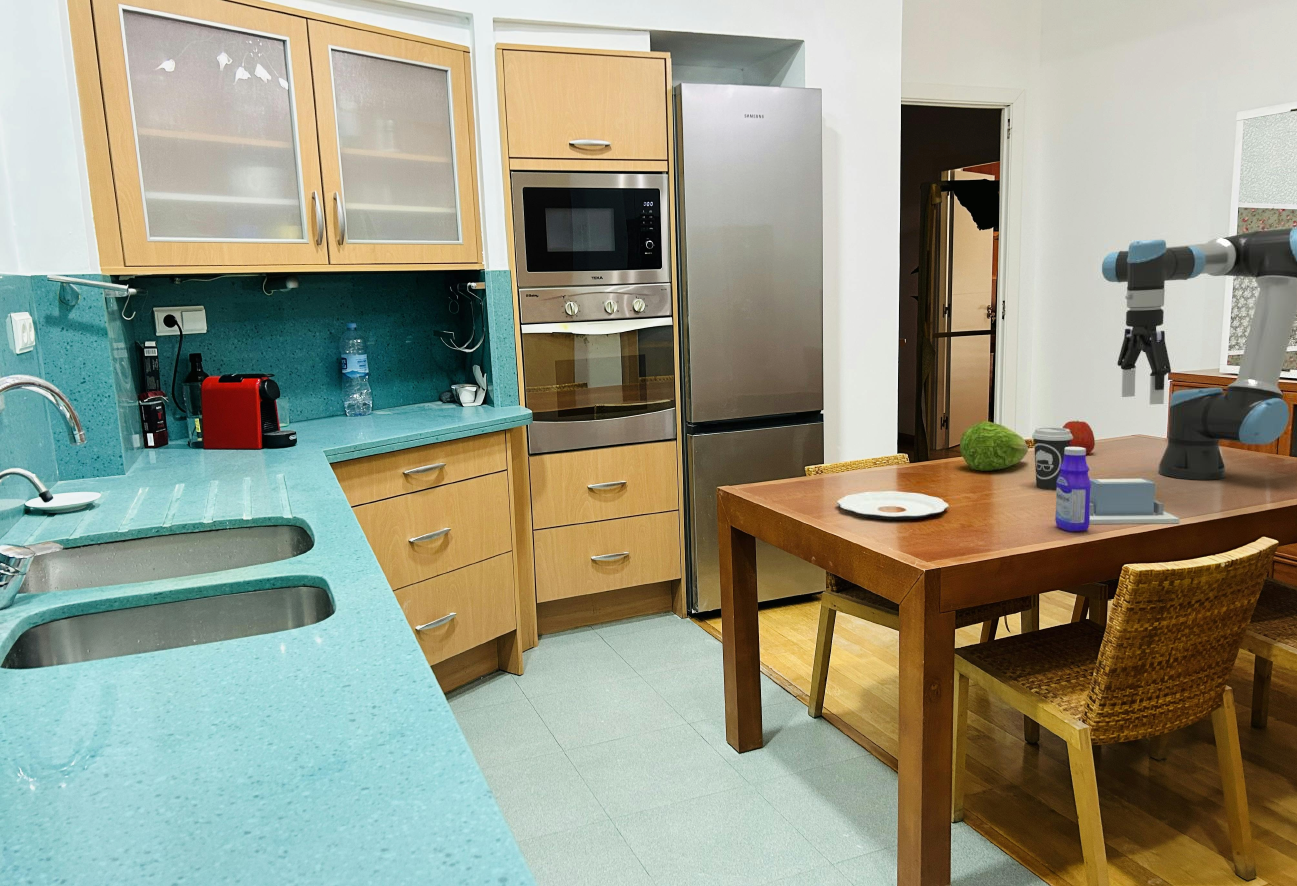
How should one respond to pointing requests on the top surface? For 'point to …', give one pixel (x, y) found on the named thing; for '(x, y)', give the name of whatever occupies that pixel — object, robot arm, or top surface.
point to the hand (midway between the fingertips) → (1141, 400)
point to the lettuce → (991, 447)
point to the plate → (892, 504)
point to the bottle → (1073, 491)
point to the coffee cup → (1049, 454)
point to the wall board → (1134, 517)
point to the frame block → (1122, 496)
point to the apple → (1081, 435)
